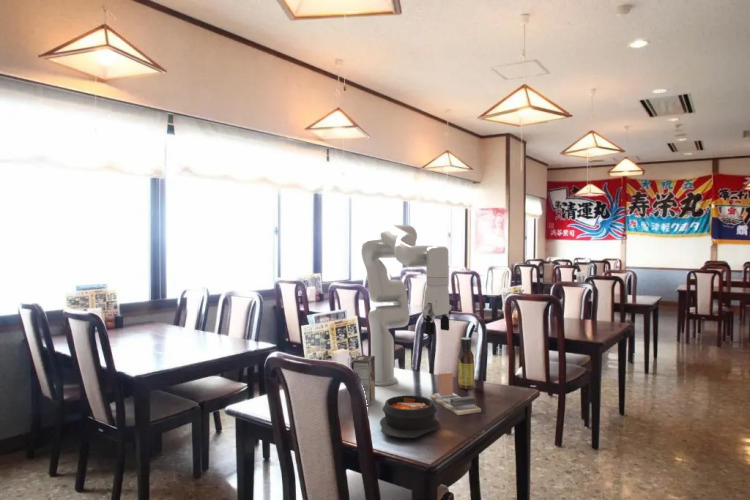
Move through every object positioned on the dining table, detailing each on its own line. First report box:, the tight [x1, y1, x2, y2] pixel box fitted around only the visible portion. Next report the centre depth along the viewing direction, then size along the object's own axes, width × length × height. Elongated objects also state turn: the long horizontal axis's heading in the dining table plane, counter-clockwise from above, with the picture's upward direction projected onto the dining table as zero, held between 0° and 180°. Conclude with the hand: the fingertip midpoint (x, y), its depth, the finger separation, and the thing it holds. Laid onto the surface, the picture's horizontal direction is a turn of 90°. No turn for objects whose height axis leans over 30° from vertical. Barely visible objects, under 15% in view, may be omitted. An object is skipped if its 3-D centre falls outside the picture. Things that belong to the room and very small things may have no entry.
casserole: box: [379, 394, 440, 439], centre depth 159 cm, size 25×19×8 cm
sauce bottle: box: [457, 336, 475, 390], centre depth 204 cm, size 6×6×20 cm
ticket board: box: [430, 394, 482, 416], centre depth 182 cm, size 20×9×4 cm, turn 21°
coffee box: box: [352, 355, 376, 407], centre depth 186 cm, size 9×6×16 cm
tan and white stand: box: [433, 371, 459, 399], centre depth 188 cm, size 5×7×9 cm
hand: (437, 332), depth 175 cm, fingers open, 9 cm apart
